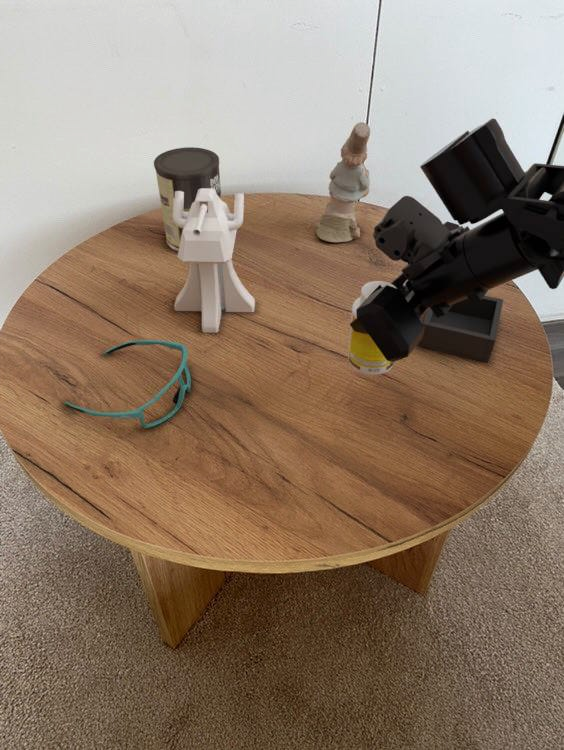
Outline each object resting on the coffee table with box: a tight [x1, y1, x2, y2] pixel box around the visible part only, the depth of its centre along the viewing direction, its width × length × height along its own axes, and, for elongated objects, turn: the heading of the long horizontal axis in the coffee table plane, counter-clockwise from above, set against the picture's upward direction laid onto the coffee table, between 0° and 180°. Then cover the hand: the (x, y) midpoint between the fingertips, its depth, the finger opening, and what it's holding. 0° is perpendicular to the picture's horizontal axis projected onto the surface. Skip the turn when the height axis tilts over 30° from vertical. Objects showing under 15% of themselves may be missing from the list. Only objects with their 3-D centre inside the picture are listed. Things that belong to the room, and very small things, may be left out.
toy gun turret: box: [173, 188, 256, 334], centre depth 81 cm, size 12×13×18 cm
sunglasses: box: [64, 339, 192, 429], centre depth 74 cm, size 14×15×5 cm
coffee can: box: [153, 146, 222, 253], centre depth 97 cm, size 10×10×14 cm
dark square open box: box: [417, 295, 504, 363], centre depth 82 cm, size 10×10×4 cm
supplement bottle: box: [347, 280, 397, 376], centre depth 66 cm, size 6×6×10 cm
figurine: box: [314, 122, 371, 243], centre depth 96 cm, size 9×8×20 cm
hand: (365, 313), depth 65 cm, fingers closed on supplement bottle, 5 cm apart
